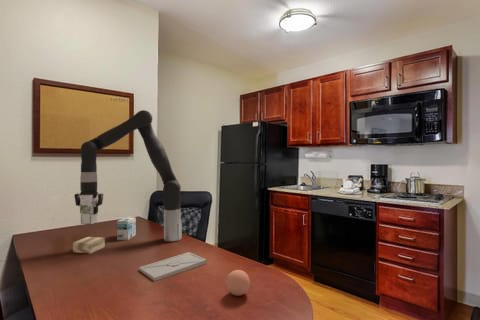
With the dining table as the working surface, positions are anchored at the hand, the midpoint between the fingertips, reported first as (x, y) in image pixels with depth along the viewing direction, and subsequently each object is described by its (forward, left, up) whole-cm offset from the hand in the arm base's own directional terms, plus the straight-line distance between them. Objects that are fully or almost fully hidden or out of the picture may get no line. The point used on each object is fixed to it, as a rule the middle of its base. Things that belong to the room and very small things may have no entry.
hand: (89, 213), depth 138 cm
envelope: (-49, +22, -19) cm, 57 cm away
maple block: (0, 0, -18) cm, 18 cm away
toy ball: (-77, +45, -18) cm, 91 cm away
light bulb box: (-10, -21, -18) cm, 29 cm away
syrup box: (0, 0, -5) cm, 5 cm away
